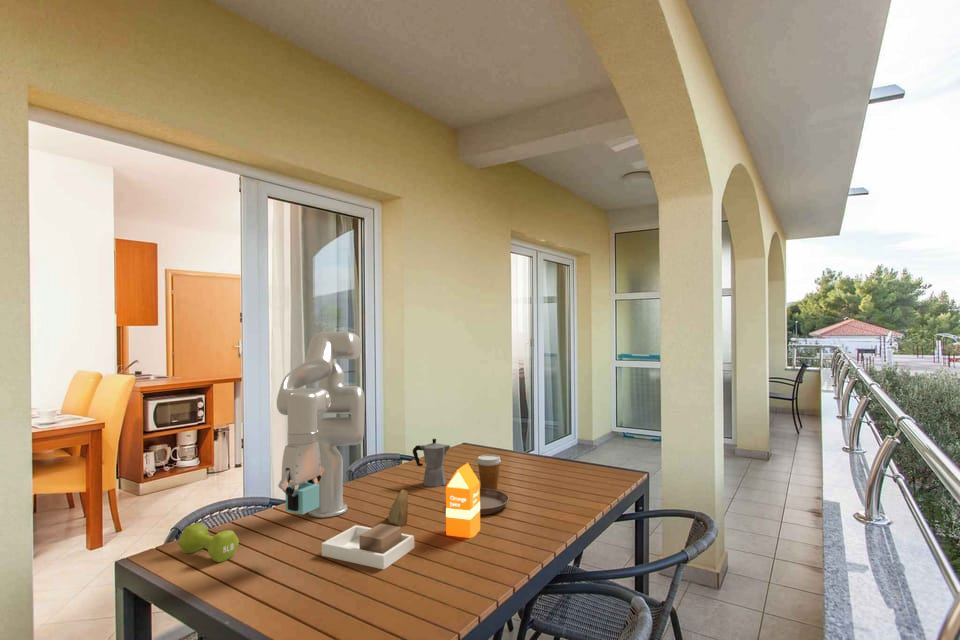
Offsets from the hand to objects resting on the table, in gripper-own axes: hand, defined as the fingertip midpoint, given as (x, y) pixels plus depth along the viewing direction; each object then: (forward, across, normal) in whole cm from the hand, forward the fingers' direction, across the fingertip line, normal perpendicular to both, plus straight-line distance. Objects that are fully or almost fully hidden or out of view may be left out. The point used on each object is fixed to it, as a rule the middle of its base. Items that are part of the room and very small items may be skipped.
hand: (302, 505), depth 131 cm
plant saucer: (+15, -55, +26) cm, 63 cm away
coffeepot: (+16, -72, -2) cm, 74 cm away
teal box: (+1, 0, 0) cm, 1 cm away
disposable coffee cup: (+15, -75, +22) cm, 80 cm away
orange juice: (+14, -31, +32) cm, 47 cm away
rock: (+15, -30, +10) cm, 35 cm away
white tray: (+14, -8, +16) cm, 22 cm away
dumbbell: (+14, +9, -25) cm, 30 cm away
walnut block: (+13, -8, +20) cm, 25 cm away
